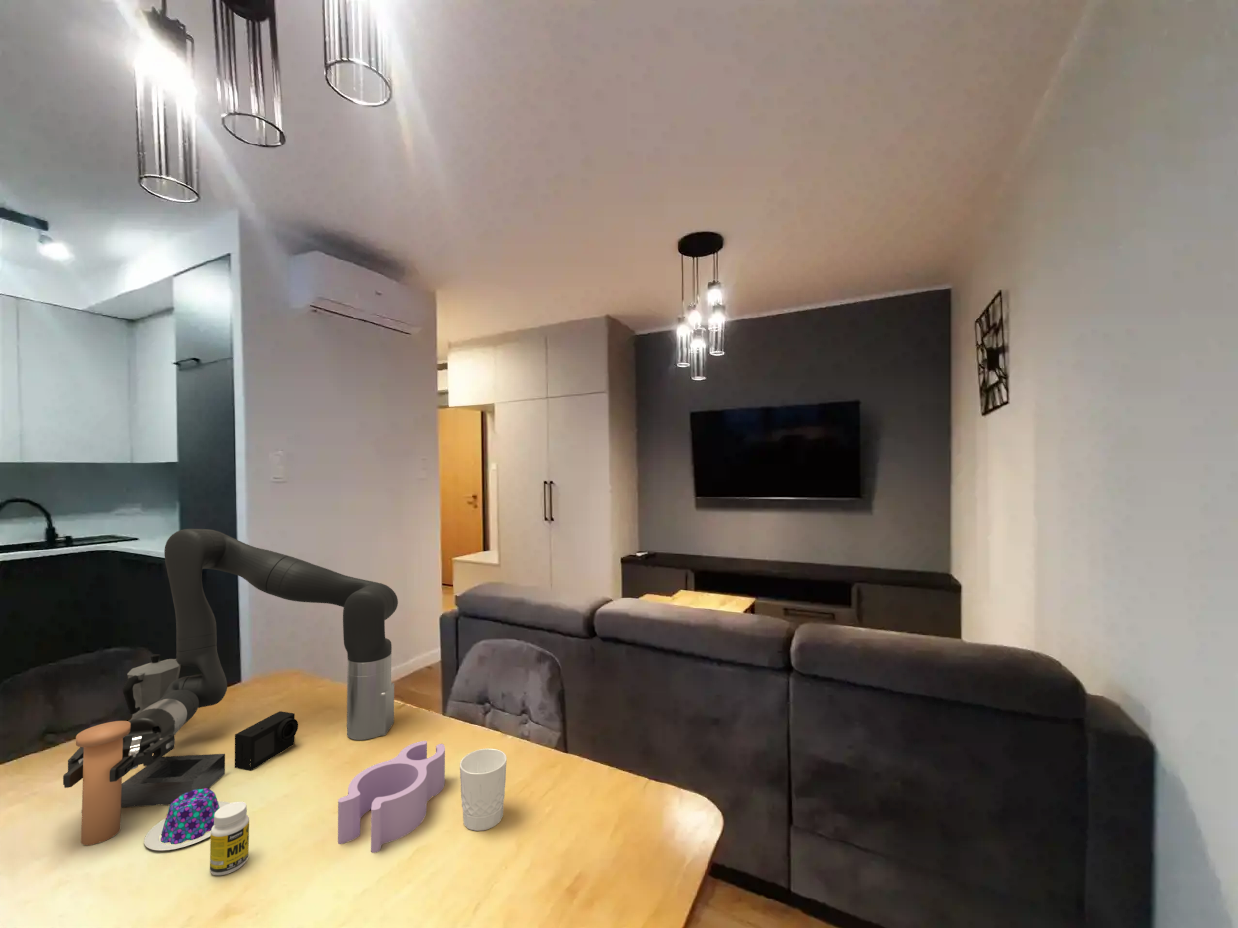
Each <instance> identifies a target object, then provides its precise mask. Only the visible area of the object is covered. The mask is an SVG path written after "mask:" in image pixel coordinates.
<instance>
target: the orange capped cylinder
mask: <svg viewBox="0 0 1238 928" xmlns="http://www.w3.org/2000/svg"><path fill="white" fill-rule="evenodd" d="M128 721H129V720H128ZM128 721H127V720H115V721H109V722H104V723H101V724H97V725H93V726H91V727H88V728H86V729H83V730H82V731H80V732H78V733H77V734H76V736H75V746H76V747H78V748H80V747H84V755H83V778H82V790H81V791H82V793H81V802H82V803H81V827H80V829H81V831H80V833H81V834H80V843H81V845H82V846H93V845H98V844H100V843H103V842H106V841H107V840H110V839H111V838H113V837H115V836H117V834H118V833H119V832H120V831H121V820H122V814H121V813H122V807H121V790H122V783H123V781H122V780H123V777H121V778H119V779H118V780H117V781H114V782H110V770H111V768H112V767H113V766H115V765H116V764H117V763H118V762H119V761H121V760H122V752H123V737H124V736H126V735H127V734H129V733H130V725H131V723H130V722H128Z"/></svg>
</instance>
